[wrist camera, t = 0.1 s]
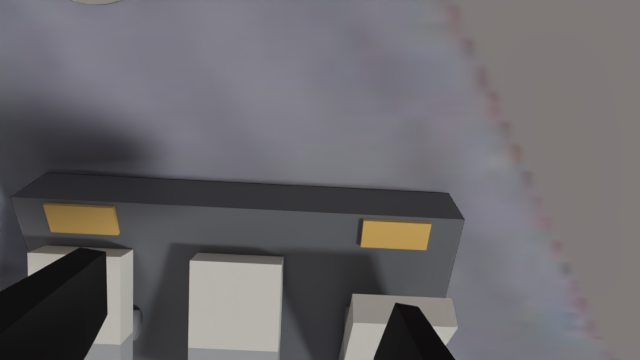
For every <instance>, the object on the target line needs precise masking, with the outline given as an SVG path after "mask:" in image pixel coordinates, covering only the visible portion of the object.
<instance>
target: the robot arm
mask: <svg viewBox="0 0 640 360" xmlns="http://www.w3.org/2000/svg"><path fill="white" fill-rule="evenodd" d="M107 315H108V307H107V265H106V252H105V251H99V250H93V249H88V248H82V247H80V248H78V249H76V250H74V251H72V252H70V253H68V254H67V255H65V256H63V257H61V258H59V259H58V260H56V261H54V262H52V263H51V264H49V265H47V266H45V267H44V268H42V269H40V270H38V271H37V272H35V273H33V274H31V275H30V276H28V277H26V278H24V279H22V280H21V281H19V282H17V283H15V284H13V285H12V286H10V287H8V288H6V289H4V290H3V291H1V292H0V360H84V359H85V357H86V356H87V354H88V352H89V350H90V348H91V346H92V344H93V343H94V341H95V339H96V337H97V335H98V333H99V331H100V329H101V327H102V325H103V323H104V321H105V319H106V317H107ZM374 360H455V359H454V357H453V356H452V354H451V353H450V352H449V350H448V349H447V347H446V346H445V344H444V343H443V341H442V340H441V339H440V337H439V336H438V334H437V333H436V331H435V330H434V328H433V327H432V325H431V324H430V322H429V321H428V320H427V318H426V317H425V315H424V314H423V312H422V311H421V310H420V308H419V307H418V306H413V305H407V304H401V303H395V305H394V307H393V310H392V312H391V315H390V317H389V320H388V322H387V325H386V328H385V330H384V333H383V335H382V338H381V340H380V343H379V345H378V348H377V350H376V353H375V356H374Z"/></svg>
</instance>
